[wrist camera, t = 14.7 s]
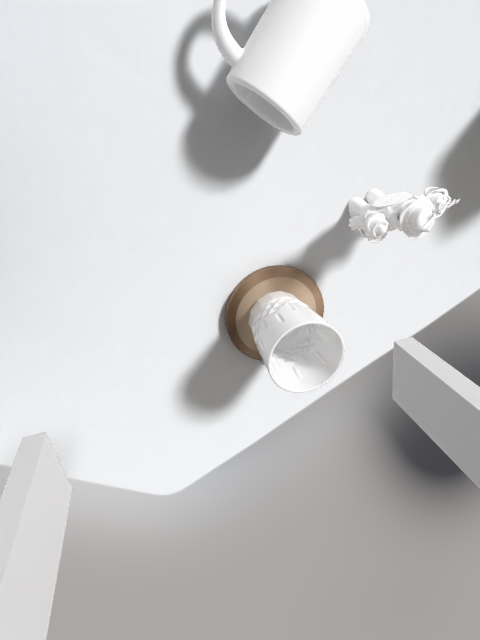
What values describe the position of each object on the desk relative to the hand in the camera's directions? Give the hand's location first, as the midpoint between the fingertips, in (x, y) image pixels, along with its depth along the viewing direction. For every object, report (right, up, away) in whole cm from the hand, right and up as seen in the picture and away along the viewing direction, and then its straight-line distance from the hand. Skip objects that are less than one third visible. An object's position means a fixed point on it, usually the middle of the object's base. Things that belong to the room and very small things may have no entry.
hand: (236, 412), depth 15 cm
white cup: (+4, +4, +33) cm, 33 cm away
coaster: (+4, +4, +34) cm, 34 cm away
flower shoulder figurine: (+14, +17, +31) cm, 38 cm away
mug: (+2, +29, +22) cm, 36 cm away
